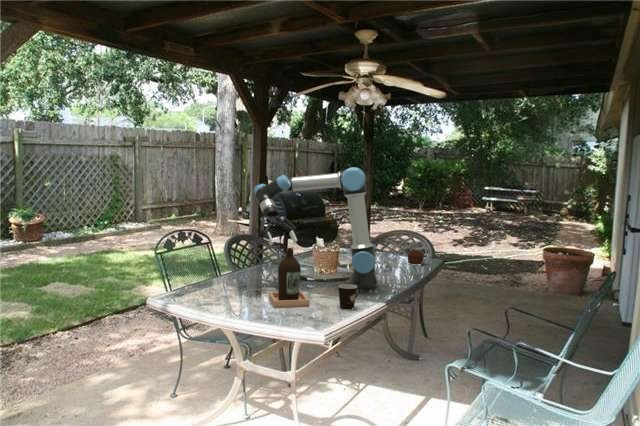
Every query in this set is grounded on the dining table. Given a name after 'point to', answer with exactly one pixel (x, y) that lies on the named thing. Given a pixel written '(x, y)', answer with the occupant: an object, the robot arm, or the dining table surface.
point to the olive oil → (289, 277)
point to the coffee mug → (347, 295)
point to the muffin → (415, 257)
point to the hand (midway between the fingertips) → (284, 243)
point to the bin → (288, 301)
